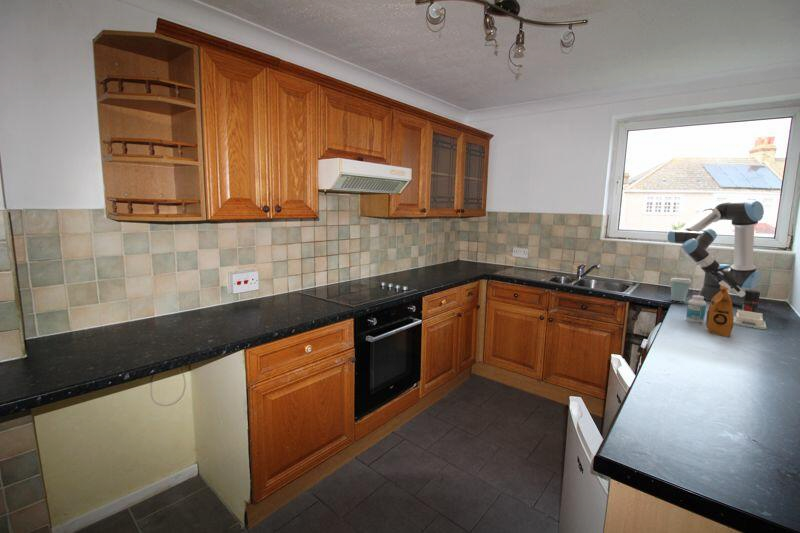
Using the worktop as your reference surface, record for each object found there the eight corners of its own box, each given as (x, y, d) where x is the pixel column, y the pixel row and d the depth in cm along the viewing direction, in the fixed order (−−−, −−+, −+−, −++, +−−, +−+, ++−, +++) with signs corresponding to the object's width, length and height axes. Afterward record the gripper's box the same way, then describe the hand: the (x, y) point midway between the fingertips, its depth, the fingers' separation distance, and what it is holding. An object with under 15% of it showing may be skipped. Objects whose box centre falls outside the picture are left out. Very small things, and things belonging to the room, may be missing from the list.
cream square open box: (731, 318, 207) (733, 309, 206) (764, 323, 198) (766, 313, 198) (731, 323, 197) (732, 314, 196) (766, 329, 188) (767, 319, 187)
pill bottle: (697, 319, 203) (701, 294, 201) (707, 323, 196) (711, 298, 194) (682, 318, 204) (686, 294, 202) (691, 322, 197) (695, 297, 195)
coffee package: (703, 333, 181) (711, 287, 177) (704, 327, 190) (711, 283, 187) (731, 338, 175) (739, 291, 171) (731, 331, 184) (738, 287, 181)
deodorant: (758, 320, 205) (763, 292, 202) (747, 319, 205) (751, 292, 203) (748, 316, 211) (753, 290, 208) (737, 316, 211) (742, 289, 208)
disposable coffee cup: (663, 299, 246) (666, 276, 244) (676, 298, 249) (679, 276, 247) (680, 303, 236) (683, 280, 234) (692, 302, 239) (696, 279, 237)
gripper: (691, 264, 222) (718, 292, 220) (711, 271, 198) (741, 302, 197) (703, 256, 220) (730, 284, 218) (725, 262, 196) (756, 293, 194)
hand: (736, 292), depth 207 cm, fingers open, 13 cm apart
